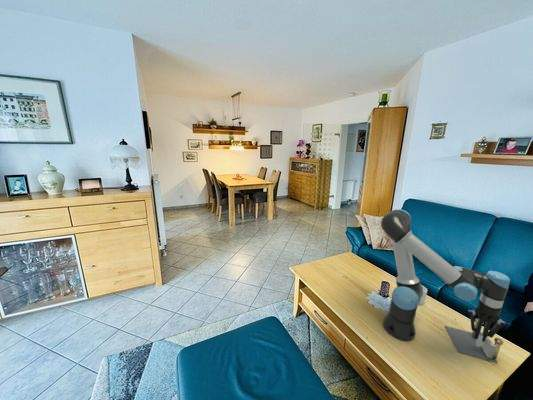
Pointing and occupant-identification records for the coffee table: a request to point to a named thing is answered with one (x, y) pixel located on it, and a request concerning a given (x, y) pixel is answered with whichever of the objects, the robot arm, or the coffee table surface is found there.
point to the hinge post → (475, 327)
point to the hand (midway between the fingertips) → (477, 344)
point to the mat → (466, 344)
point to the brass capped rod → (497, 347)
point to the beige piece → (488, 346)
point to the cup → (423, 296)
